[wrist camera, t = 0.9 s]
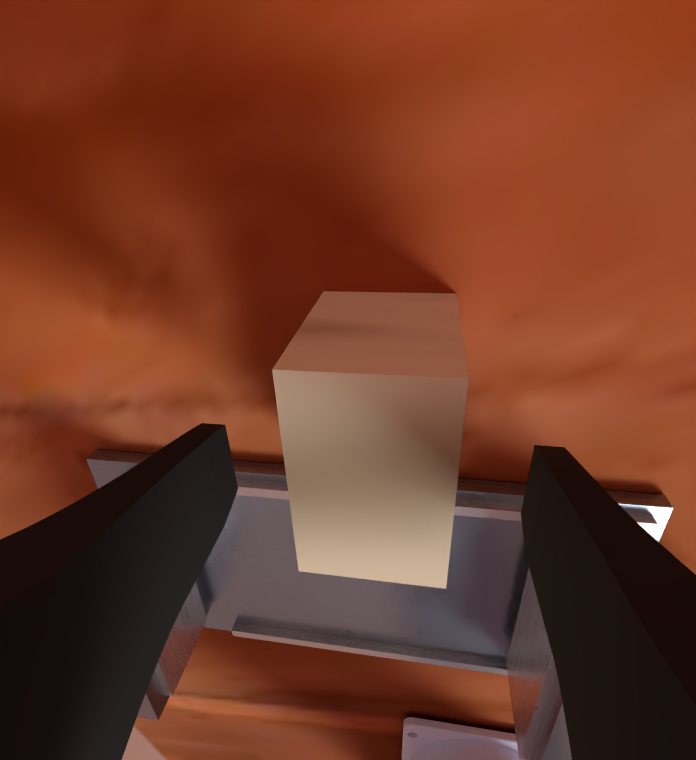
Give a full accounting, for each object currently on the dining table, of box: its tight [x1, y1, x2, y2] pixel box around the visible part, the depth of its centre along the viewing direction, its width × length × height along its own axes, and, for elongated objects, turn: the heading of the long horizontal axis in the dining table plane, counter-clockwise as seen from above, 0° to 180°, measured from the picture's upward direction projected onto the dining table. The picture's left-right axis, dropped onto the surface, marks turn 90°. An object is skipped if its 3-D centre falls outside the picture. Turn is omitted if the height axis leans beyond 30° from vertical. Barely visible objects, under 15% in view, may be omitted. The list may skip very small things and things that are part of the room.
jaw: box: [506, 569, 572, 760], centre depth 15 cm, size 8×7×4 cm
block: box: [272, 291, 469, 589], centre depth 12 cm, size 6×4×5 cm, turn 2°
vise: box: [86, 449, 673, 720], centre depth 17 cm, size 10×20×5 cm, turn 92°
